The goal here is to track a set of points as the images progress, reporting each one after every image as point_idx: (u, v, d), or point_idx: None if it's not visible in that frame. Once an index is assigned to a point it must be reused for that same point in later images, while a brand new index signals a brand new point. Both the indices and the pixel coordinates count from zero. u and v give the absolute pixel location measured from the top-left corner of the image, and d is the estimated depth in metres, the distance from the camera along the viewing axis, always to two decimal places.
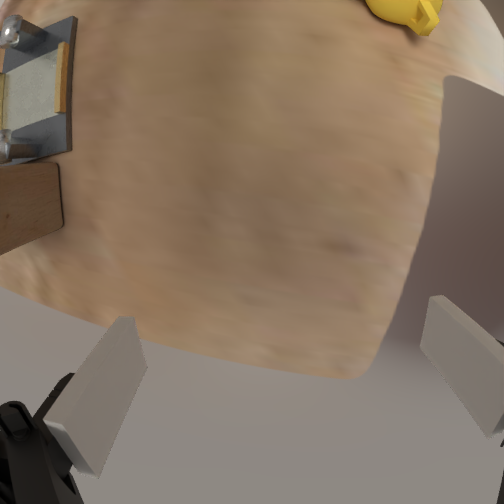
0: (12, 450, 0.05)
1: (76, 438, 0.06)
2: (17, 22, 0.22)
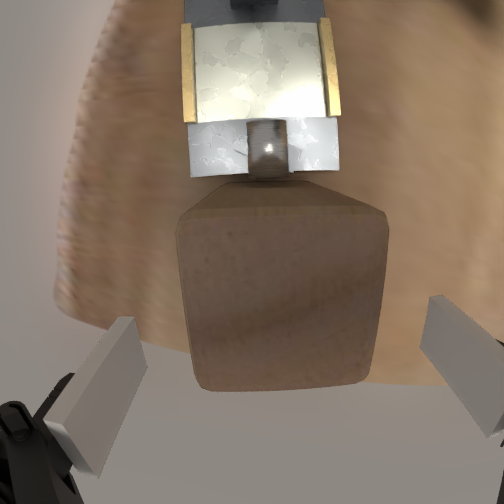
0: (12, 450, 0.05)
1: (76, 438, 0.06)
2: None
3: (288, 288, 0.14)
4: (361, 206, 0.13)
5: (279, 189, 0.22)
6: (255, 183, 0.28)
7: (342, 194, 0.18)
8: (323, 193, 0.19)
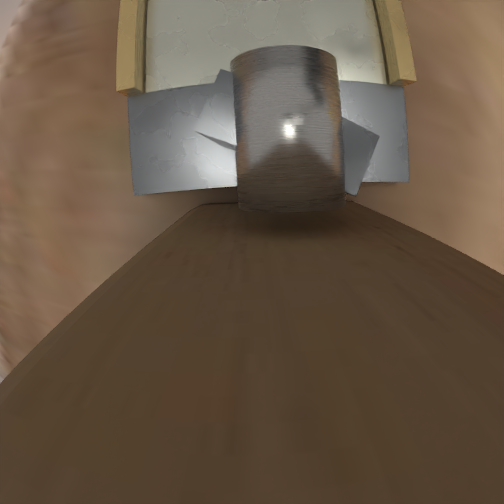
0: None
1: None
2: None
3: None
4: None
5: (330, 252, 0.07)
6: None
7: None
8: (499, 298, 0.04)
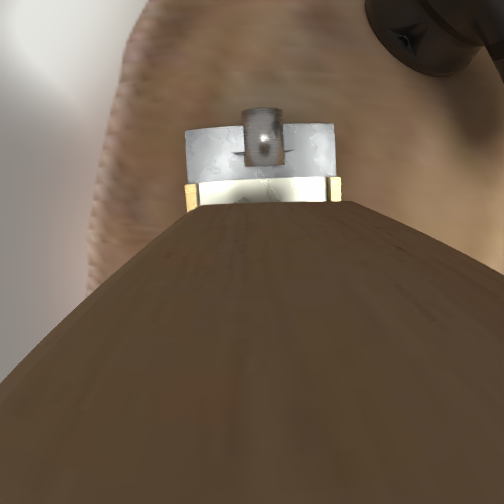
0: None
1: None
2: (285, 128, 0.22)
3: None
4: None
5: (330, 253, 0.07)
6: (255, 209, 0.14)
7: None
8: (500, 299, 0.04)
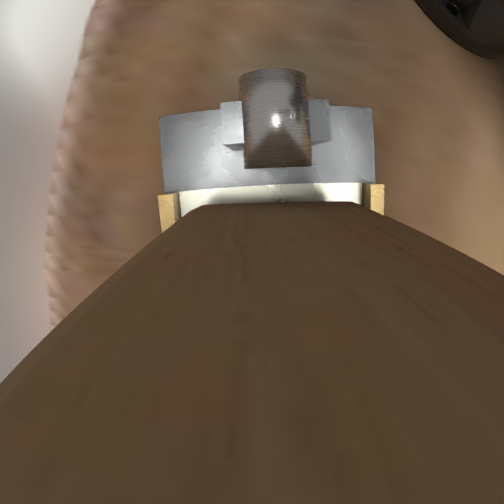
0: None
1: None
2: (312, 104, 0.13)
3: None
4: None
5: (330, 253, 0.07)
6: (255, 209, 0.14)
7: None
8: (500, 299, 0.04)
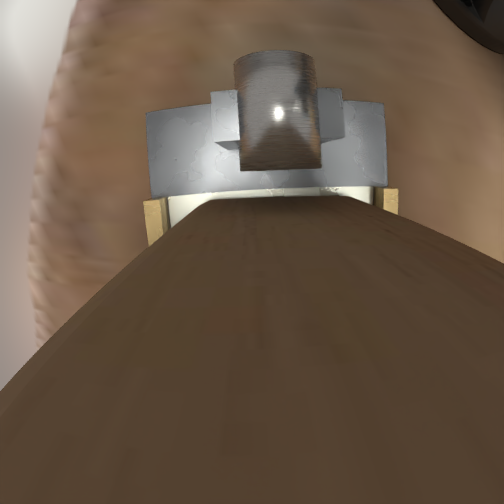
0: None
1: None
2: (321, 94, 0.10)
3: None
4: None
5: (328, 234, 0.08)
6: (260, 203, 0.15)
7: None
8: (470, 265, 0.05)
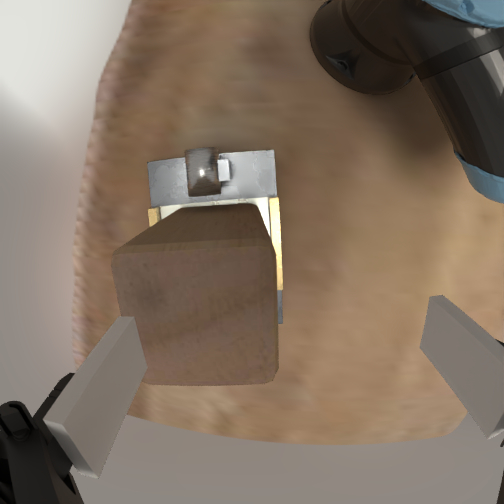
0: (12, 450, 0.05)
1: (76, 438, 0.06)
2: (219, 162, 0.28)
3: (191, 305, 0.17)
4: (249, 239, 0.17)
5: (210, 218, 0.26)
6: (202, 208, 0.32)
7: (254, 223, 0.22)
8: (240, 222, 0.23)
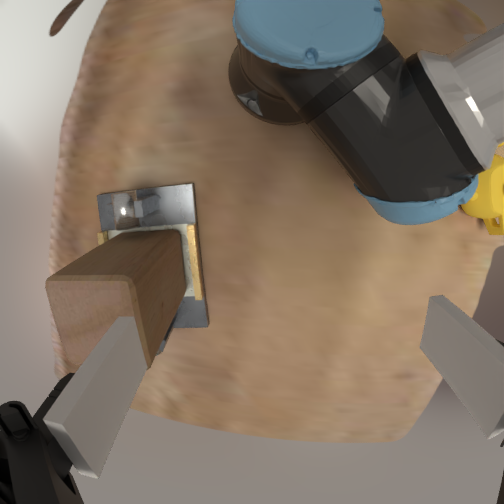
0: (12, 450, 0.05)
1: (76, 438, 0.06)
2: (135, 203, 0.35)
3: (87, 315, 0.25)
4: (117, 275, 0.25)
5: (123, 249, 0.33)
6: (131, 235, 0.39)
7: (140, 257, 0.29)
8: (133, 256, 0.30)
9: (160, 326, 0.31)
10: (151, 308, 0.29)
